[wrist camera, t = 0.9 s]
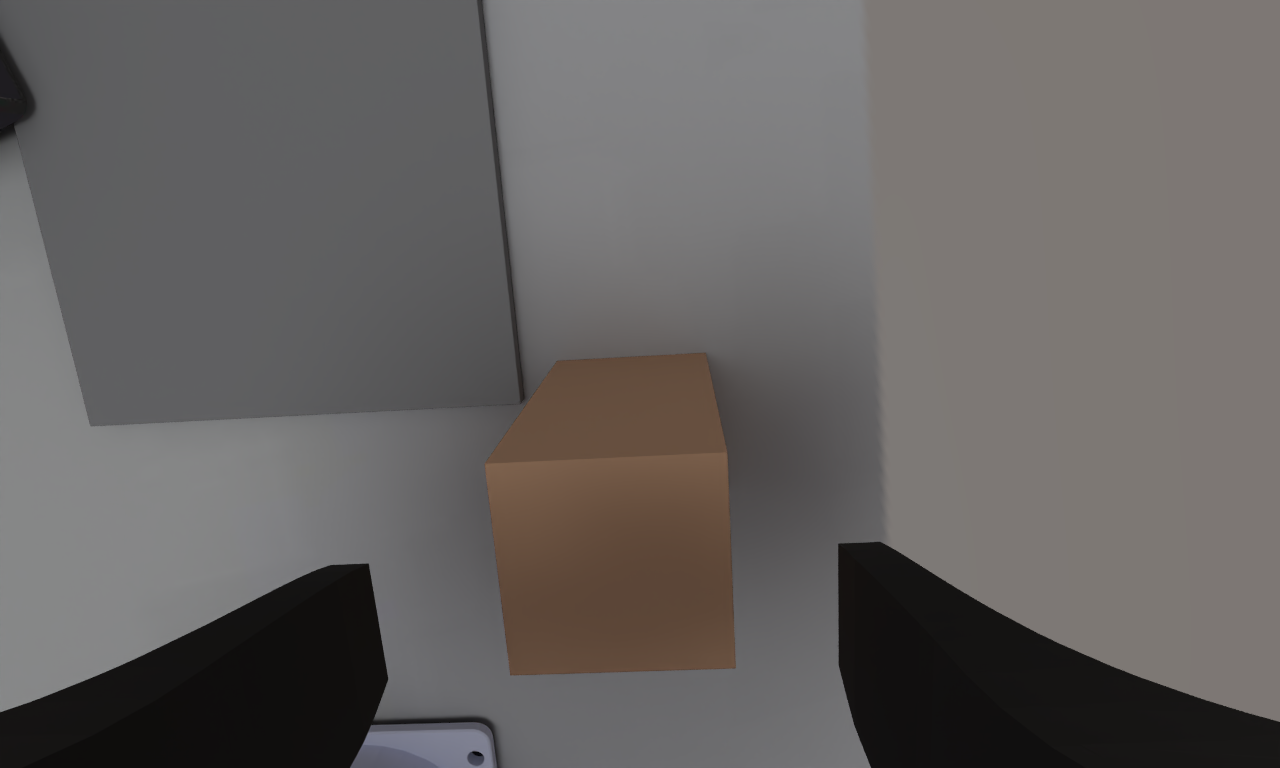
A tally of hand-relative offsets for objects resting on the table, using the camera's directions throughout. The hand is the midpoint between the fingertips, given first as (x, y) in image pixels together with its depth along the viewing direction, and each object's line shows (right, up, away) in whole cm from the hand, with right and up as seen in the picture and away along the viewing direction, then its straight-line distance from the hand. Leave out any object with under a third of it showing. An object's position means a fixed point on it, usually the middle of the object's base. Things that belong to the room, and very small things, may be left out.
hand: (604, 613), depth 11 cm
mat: (-9, +12, +7) cm, 16 cm away
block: (0, +2, +9) cm, 9 cm away
